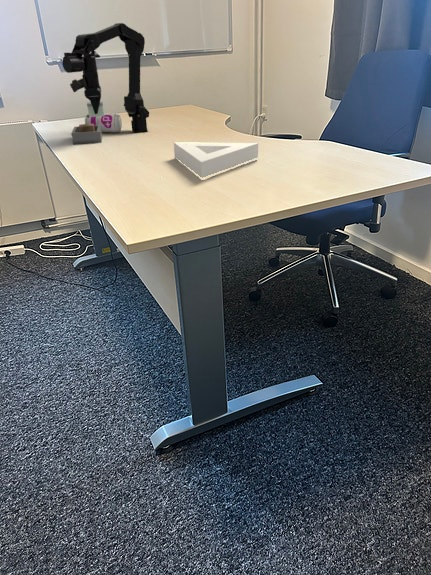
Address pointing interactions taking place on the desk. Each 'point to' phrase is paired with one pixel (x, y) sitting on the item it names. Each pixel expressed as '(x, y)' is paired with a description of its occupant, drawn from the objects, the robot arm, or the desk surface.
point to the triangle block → (213, 155)
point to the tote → (87, 136)
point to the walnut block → (86, 127)
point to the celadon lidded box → (91, 111)
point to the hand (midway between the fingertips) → (96, 112)
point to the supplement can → (106, 122)
